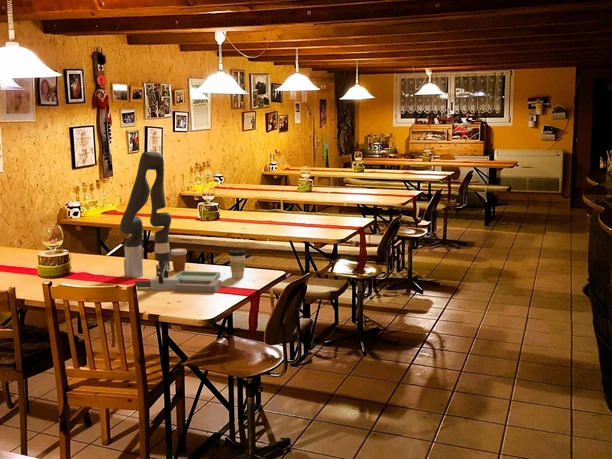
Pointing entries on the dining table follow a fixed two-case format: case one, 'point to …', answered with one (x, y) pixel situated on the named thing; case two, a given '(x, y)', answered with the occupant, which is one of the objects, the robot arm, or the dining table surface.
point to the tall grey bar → (154, 283)
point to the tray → (198, 275)
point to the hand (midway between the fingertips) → (163, 281)
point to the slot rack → (198, 285)
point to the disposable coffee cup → (178, 259)
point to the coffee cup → (237, 262)
